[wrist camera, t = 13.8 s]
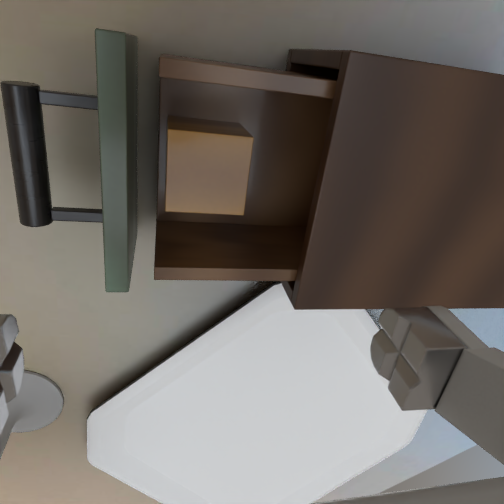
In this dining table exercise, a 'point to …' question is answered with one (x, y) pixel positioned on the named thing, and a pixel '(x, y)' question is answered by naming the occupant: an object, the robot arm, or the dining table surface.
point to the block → (206, 166)
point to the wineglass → (32, 406)
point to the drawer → (125, 162)
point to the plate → (255, 410)
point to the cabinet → (404, 187)
